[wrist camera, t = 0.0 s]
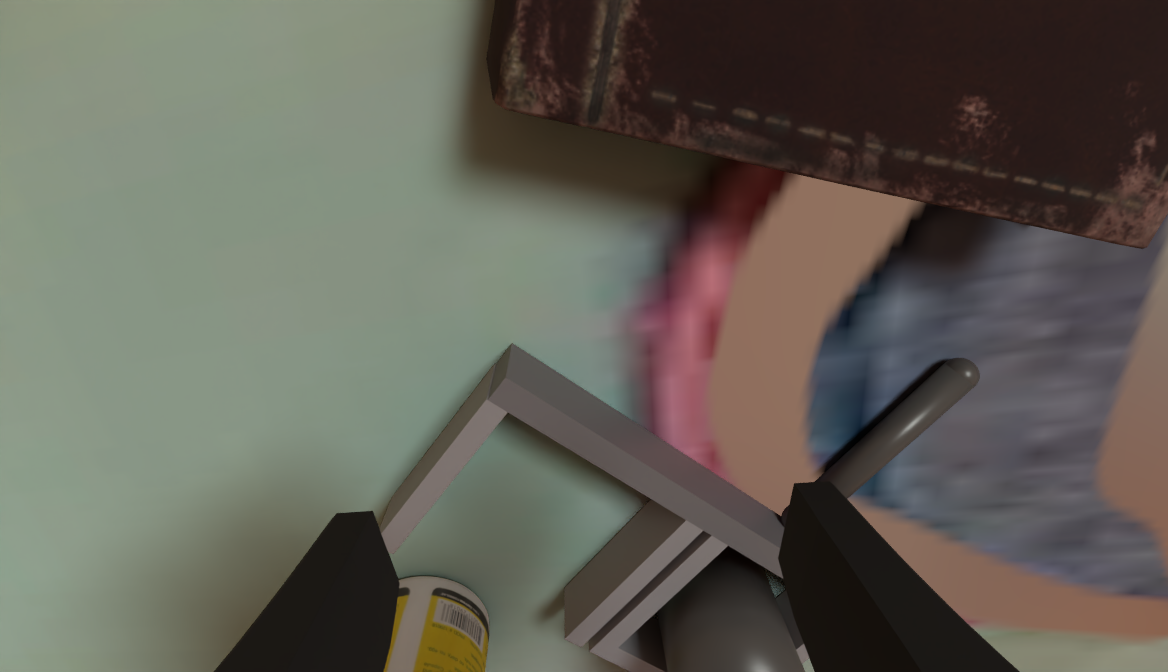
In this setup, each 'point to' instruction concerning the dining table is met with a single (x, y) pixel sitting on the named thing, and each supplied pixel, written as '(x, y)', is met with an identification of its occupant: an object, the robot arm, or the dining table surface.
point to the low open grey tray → (663, 522)
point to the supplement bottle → (438, 628)
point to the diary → (874, 95)
